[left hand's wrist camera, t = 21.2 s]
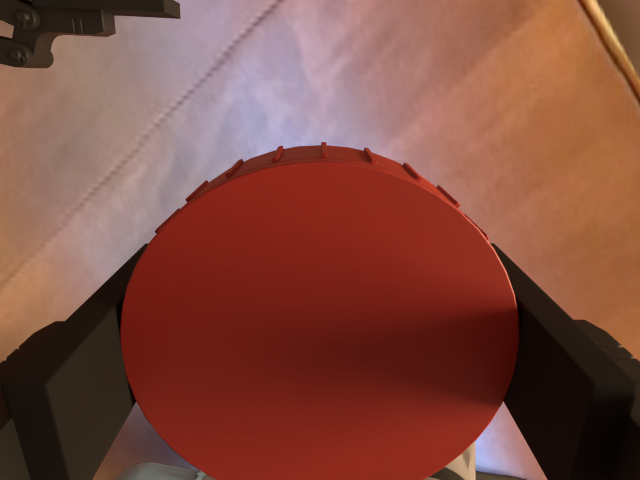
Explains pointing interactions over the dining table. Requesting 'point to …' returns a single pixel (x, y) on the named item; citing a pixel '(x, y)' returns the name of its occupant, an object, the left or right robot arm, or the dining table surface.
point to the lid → (319, 322)
